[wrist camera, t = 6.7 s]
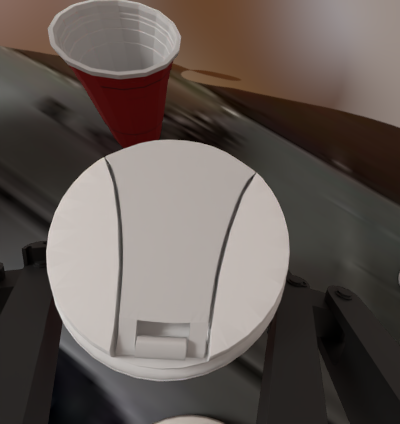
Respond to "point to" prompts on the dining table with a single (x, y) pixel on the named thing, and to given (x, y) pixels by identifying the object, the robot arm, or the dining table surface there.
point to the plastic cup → (120, 62)
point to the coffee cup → (167, 259)
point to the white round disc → (188, 420)
